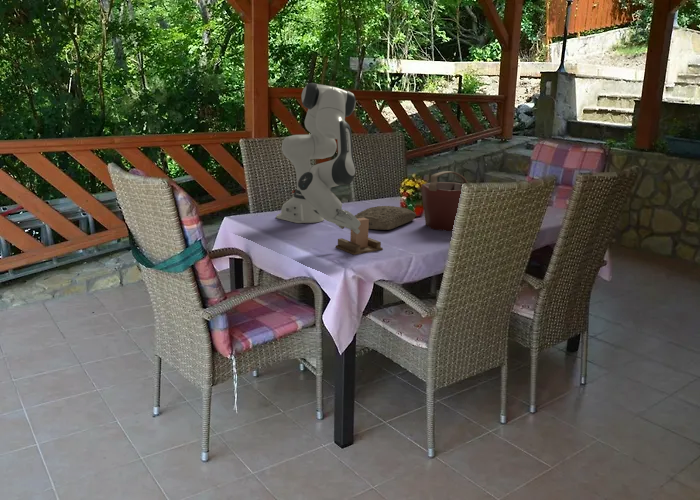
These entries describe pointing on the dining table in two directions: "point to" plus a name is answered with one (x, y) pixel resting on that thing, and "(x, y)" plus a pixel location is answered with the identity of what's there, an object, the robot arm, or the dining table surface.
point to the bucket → (441, 201)
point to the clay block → (361, 233)
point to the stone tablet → (386, 217)
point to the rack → (358, 246)
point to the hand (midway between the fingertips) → (350, 229)
